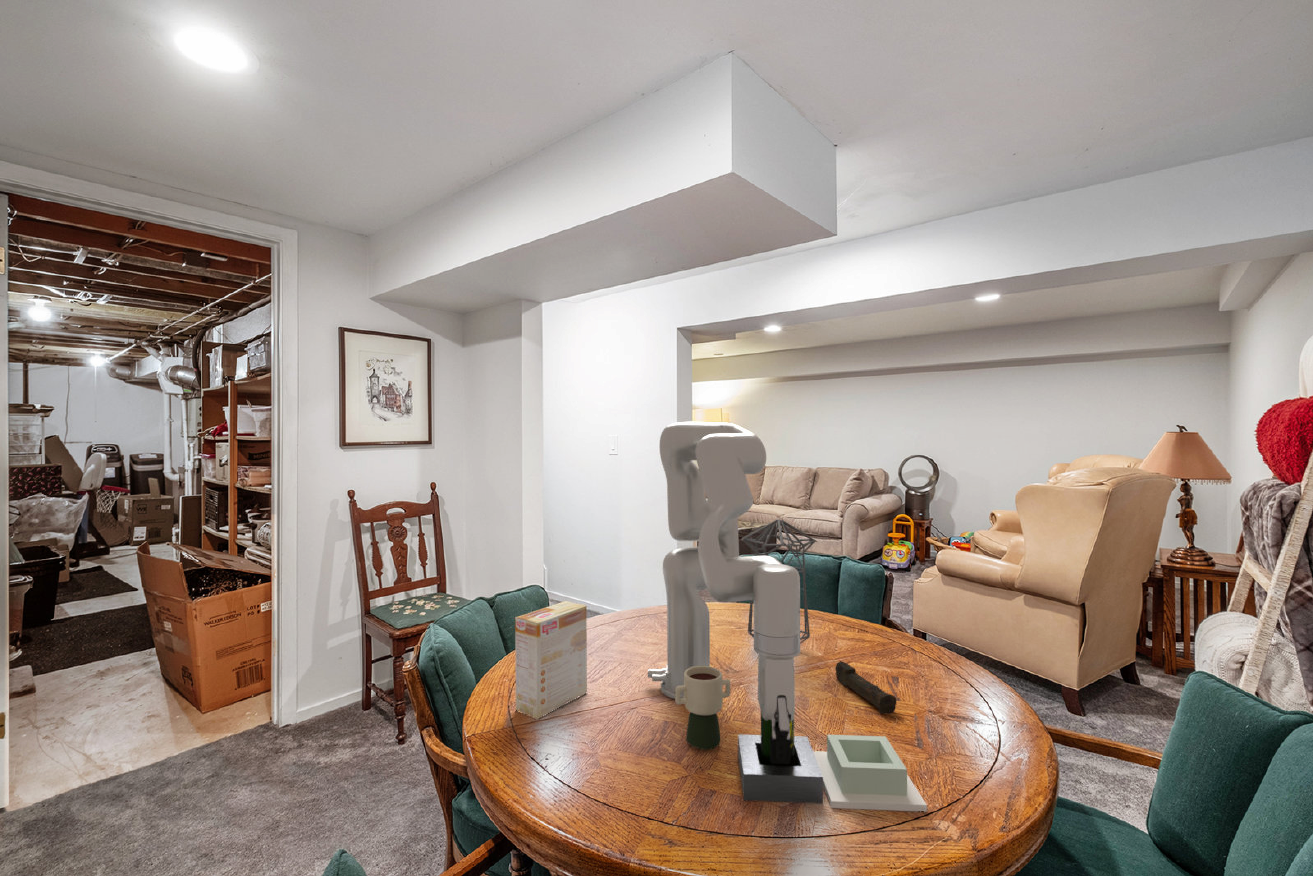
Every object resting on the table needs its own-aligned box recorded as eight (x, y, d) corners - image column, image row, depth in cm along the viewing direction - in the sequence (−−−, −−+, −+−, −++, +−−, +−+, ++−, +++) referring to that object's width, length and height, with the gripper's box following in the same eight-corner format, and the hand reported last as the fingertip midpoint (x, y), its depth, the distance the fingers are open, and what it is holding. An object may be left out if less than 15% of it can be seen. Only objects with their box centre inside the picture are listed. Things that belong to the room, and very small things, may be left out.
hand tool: (897, 714, 115) (897, 691, 115) (880, 716, 114) (880, 693, 114) (847, 677, 133) (847, 657, 133) (831, 679, 133) (831, 659, 133)
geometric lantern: (737, 650, 150) (737, 519, 152) (772, 638, 161) (772, 515, 162) (787, 667, 139) (786, 524, 140) (821, 652, 149) (820, 520, 151)
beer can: (759, 785, 91) (758, 710, 91) (763, 767, 96) (762, 696, 96) (793, 791, 89) (792, 715, 89) (795, 772, 94) (795, 700, 94)
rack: (831, 808, 85) (831, 774, 85) (812, 756, 99) (812, 728, 99) (927, 812, 84) (926, 778, 84) (894, 759, 98) (893, 730, 98)
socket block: (743, 800, 87) (743, 774, 87) (738, 757, 99) (737, 734, 99) (823, 803, 86) (822, 777, 86) (807, 759, 98) (807, 736, 98)
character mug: (722, 730, 108) (722, 662, 108) (739, 749, 101) (738, 676, 102) (668, 739, 105) (668, 669, 105) (682, 759, 98) (682, 684, 98)
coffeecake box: (565, 685, 129) (565, 600, 129) (588, 693, 124) (588, 605, 125) (513, 711, 116) (513, 616, 117) (537, 720, 112) (537, 622, 112)
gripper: (748, 624, 101) (749, 726, 101) (759, 660, 84) (760, 782, 84) (791, 625, 101) (791, 727, 101) (810, 661, 84) (811, 784, 84)
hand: (777, 751), depth 92 cm, fingers closed on beer can, 5 cm apart
